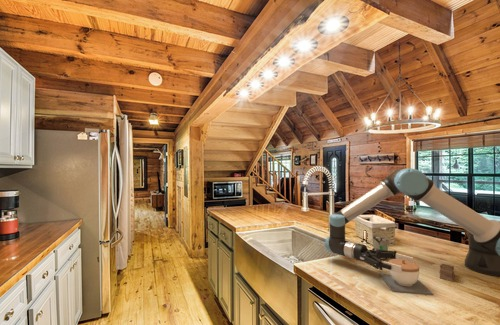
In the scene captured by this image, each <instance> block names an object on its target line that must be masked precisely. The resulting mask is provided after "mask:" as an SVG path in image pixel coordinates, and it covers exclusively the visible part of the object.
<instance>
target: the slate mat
mask: <svg viewBox="0 0 500 325" xmlns="http://www.w3.org/2000/svg"><path fill="white" fill-rule="evenodd" d="M379 276H380V277H381V279H382V280H383V282H384V283H385V284H386V285H387V287H388V288H389V289H390V290H391V291H392V292H393V293H402V294H403V293H404V294H405V293H407V294H416V295H418V294H419V295H429V296H433V295H434V292H432V291H431V290H430V289H429V288H428V287H427V286H426V285H424V284H423V283H422V282H421V280H419V279H418V280H417V282H416V283H415V284H413V286H403V285H400V284H398V283H396V282H395V280H394V279H393V278H392V276H391V274H384V273H379Z"/></svg>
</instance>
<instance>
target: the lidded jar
mask: <svg viewBox="0 0 500 325" xmlns="http://www.w3.org/2000/svg"><path fill="white" fill-rule="evenodd" d="M387 262H388V263H392V264H396V265H399V266H402V273H401V274H400V273H397V272H394V271H390V270H388V272H389V275H391V276H392V278H393V279H394V280H395V282H396V283H398V284H400V285H403V286H413V284H415V283H416V282H417V280H419V277H420V266H419V265H418V264H417V263H415V262H414V261H413V262H411V261H407V260H403V259H389V260H388V261H387Z"/></svg>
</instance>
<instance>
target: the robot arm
mask: <svg viewBox="0 0 500 325" xmlns="http://www.w3.org/2000/svg"><path fill="white" fill-rule="evenodd" d="M400 193H402V194H404V195H405V196H407V197H408V198H410V199H411V200H413V201H415V202H422V203H423V204H425V205H427V206H428V207H429V208H431V209H433V210H434V211H436V212H438V213H439V214H440V215H442V216H444V217H445V218H447V219H448V220H449V221H451V222H453V223H455V224H456V225H458V226H460V227H461V228H462V229H463V230H465V231H467V232H468V251H467V254H466V256H465V259H464V267H466V268H467V269H469V270H472V271H473V272H477V273H480V274H484V275H488V276H493V277H500V220H496V219H488V218H486V216H483V215H482V214H480V213H478V212H476V211H475V210H473V209H472V208H470V207H469V206H467V205H465V204H464V203H463V202H461V201H459V200H457V199H456V198H455V197H453V196H451V195H449V194H448V193H446V192H445V191H443V190H442V189H440V188H438V187H437V186H436V184H435V181H434V180H432V179H430V178H429V177H427V175H426V174H425V173H423V172H422V171H421V170H419V169H416V168H412V167H411V168H410V167H409V168H398V169H395V170H394V171H392V172H391V173H390V174H389V175H387V176H385V178H383V179H382V180H380V182H379V184H378V185H377V186H375V187H373V188H372V189H371V190H368V191H367V192H366V193H364V194H363V195H361V196H360V197H359V198H357V199H355V200H354V201H352V202H351V203H349V204H348V205H346V206H344V207H343V208H342V209H340V210H339V211H337V212H334V213H332V214H330V215H329V221H328V222H329V224H328V225H329V236H327V237H326V238H325V242H324V247H325V249H326V251H328V252H330V253H332V254H336V255H339V256H343V257H347V258H349V259H353V260H356V261H360V262H364V263H365V264H367V265H369V266H371V267H372V268H374V269H376V270H379V271H383V269H384V270H387V271H389V270H390V271H394V272H397V273H400V274H401V273H402V266H399V265H396V264H392V263H388V261H386V260H379V259H381V258H387V259H389V260H391V259H403V260H407V261H411V262H413V263H414V257H413V256H408V255H404V254H400V253H398V252H397V250H380V249H374V248H373V247H372V249H368V246H366V245H365V244H362V243H357V242H354V241H350V240H346V225H347V224H348V223H350V222H351V221H353V220H355V219H354V218H356V217H358V216H359V215H363V214H364V213H366V212H367V211H368V210H370V209H372V208H374V207H375V206H376V205H378V204H379V203H381V202H382V201H384V200H387V198H389V197H391V196H392V197H395V196H396V195H398V194H400ZM390 271H389V272H390Z"/></svg>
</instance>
